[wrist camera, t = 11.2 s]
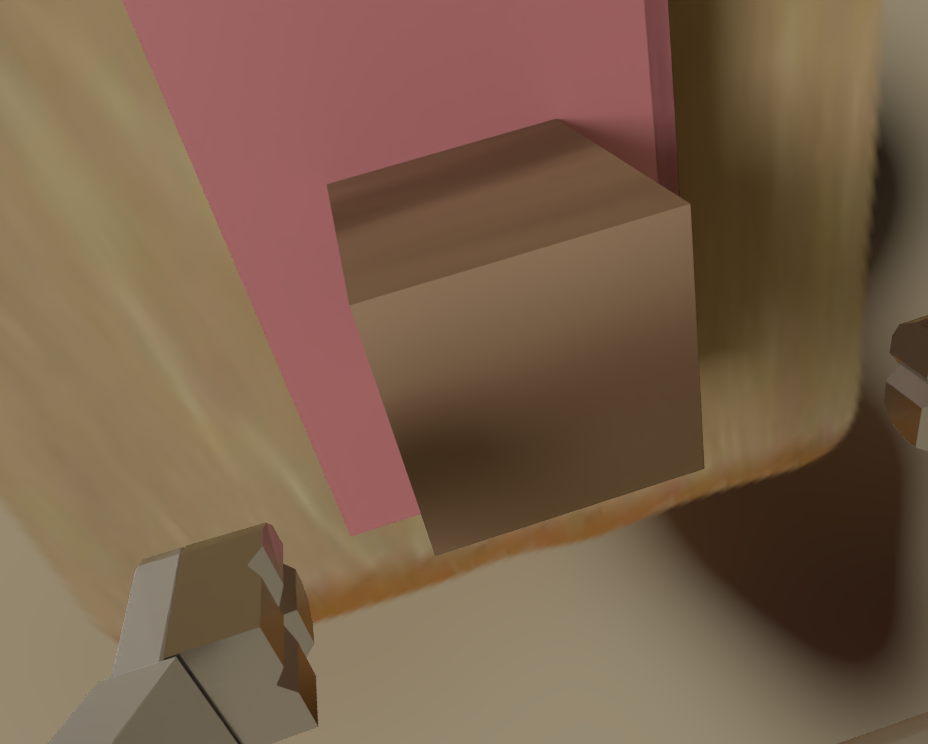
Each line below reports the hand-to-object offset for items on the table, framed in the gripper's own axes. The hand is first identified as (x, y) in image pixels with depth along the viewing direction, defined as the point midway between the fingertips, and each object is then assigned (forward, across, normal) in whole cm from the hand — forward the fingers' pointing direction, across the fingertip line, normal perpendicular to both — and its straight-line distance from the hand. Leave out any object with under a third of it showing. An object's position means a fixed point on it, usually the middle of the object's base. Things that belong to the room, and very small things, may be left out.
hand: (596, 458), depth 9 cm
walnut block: (+8, 0, +1) cm, 8 cm away
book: (+13, 0, +1) cm, 13 cm away
